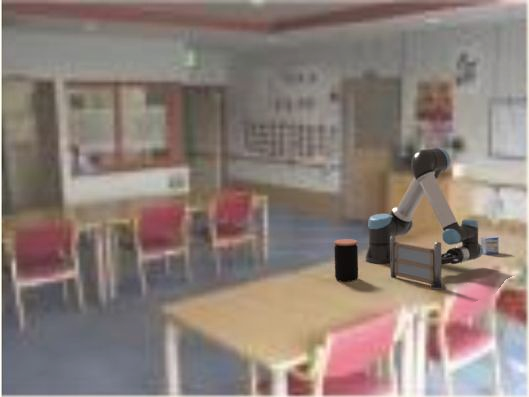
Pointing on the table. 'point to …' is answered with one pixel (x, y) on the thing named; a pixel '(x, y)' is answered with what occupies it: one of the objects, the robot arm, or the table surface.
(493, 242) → the medicine box
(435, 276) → the hinge post
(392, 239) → the post
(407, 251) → the gate leaf
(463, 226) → the robot arm
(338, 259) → the coffee jar
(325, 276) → the table surface
